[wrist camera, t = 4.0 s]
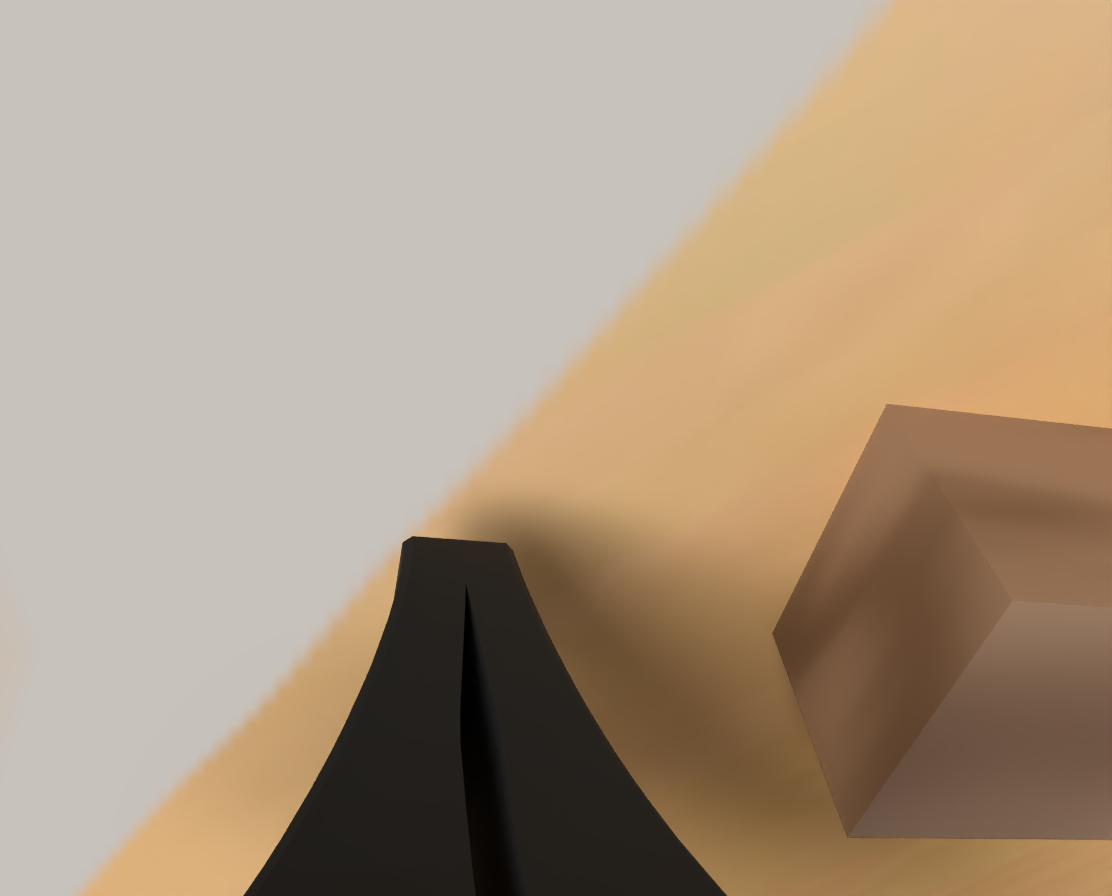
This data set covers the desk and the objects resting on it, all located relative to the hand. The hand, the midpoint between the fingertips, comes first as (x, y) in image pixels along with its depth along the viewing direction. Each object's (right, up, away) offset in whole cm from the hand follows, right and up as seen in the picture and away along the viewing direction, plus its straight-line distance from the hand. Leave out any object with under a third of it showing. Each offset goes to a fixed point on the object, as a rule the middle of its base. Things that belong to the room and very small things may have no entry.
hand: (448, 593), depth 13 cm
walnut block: (+8, +1, +3) cm, 9 cm away
